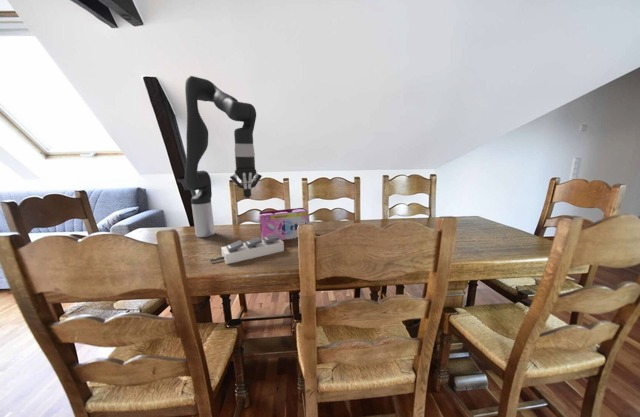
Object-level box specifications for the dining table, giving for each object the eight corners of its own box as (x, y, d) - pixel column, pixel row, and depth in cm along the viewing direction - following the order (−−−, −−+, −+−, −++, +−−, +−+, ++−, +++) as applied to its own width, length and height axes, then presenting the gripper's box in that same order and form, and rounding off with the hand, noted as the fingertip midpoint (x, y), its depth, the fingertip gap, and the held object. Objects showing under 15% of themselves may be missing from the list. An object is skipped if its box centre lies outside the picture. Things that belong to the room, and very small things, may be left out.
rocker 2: (245, 244, 106) (244, 241, 105) (258, 239, 108) (258, 236, 108) (248, 248, 102) (247, 245, 101) (262, 242, 104) (261, 239, 104)
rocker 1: (226, 248, 102) (225, 245, 101) (241, 242, 104) (240, 239, 104) (229, 252, 98) (228, 249, 98) (244, 245, 101) (242, 242, 100)
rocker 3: (262, 240, 109) (262, 237, 109) (275, 236, 112) (275, 234, 112) (266, 243, 105) (265, 240, 105) (279, 239, 108) (279, 237, 108)
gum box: (260, 243, 119) (258, 215, 116) (258, 238, 126) (256, 211, 123) (309, 236, 128) (308, 210, 124) (304, 232, 135) (303, 207, 132)
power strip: (209, 259, 103) (207, 247, 102) (276, 244, 117) (275, 234, 116) (212, 267, 95) (211, 255, 94) (284, 250, 110) (283, 240, 109)
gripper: (258, 155, 108) (259, 194, 112) (225, 155, 101) (229, 197, 106) (263, 155, 102) (265, 197, 106) (230, 156, 95) (233, 201, 99)
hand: (247, 197), depth 106 cm, fingers closed
